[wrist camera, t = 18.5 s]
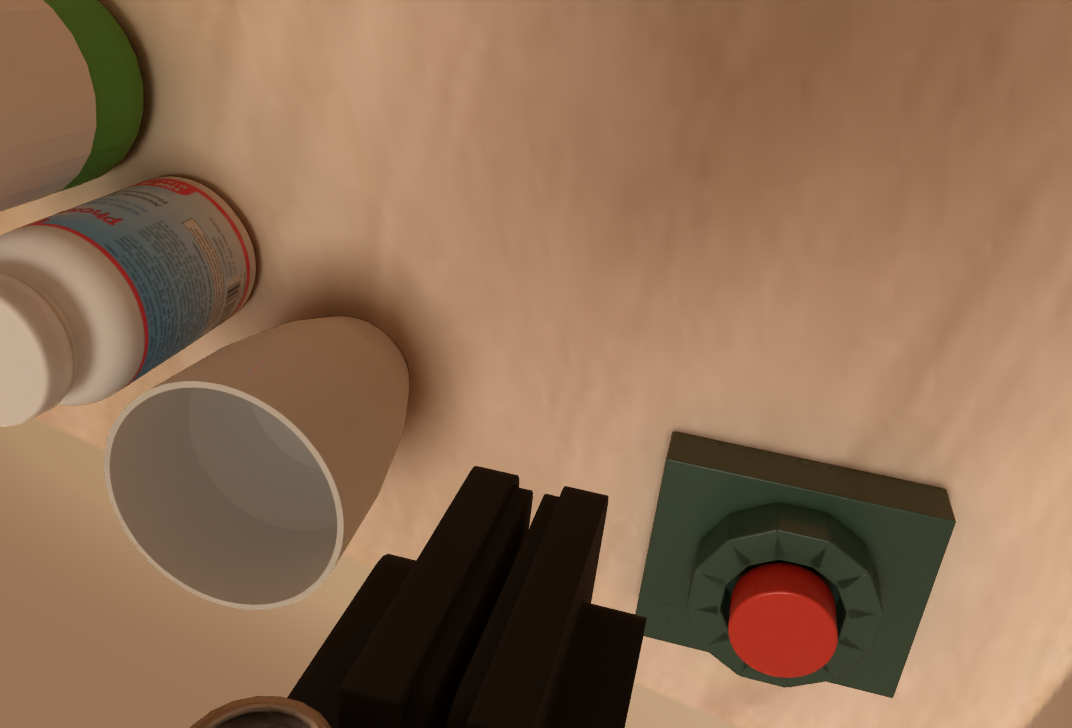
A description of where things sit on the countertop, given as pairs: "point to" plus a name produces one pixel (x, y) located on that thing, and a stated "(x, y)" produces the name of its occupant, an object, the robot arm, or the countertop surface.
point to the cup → (260, 459)
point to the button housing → (793, 553)
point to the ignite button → (783, 620)
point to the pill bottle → (114, 291)
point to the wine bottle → (63, 96)
